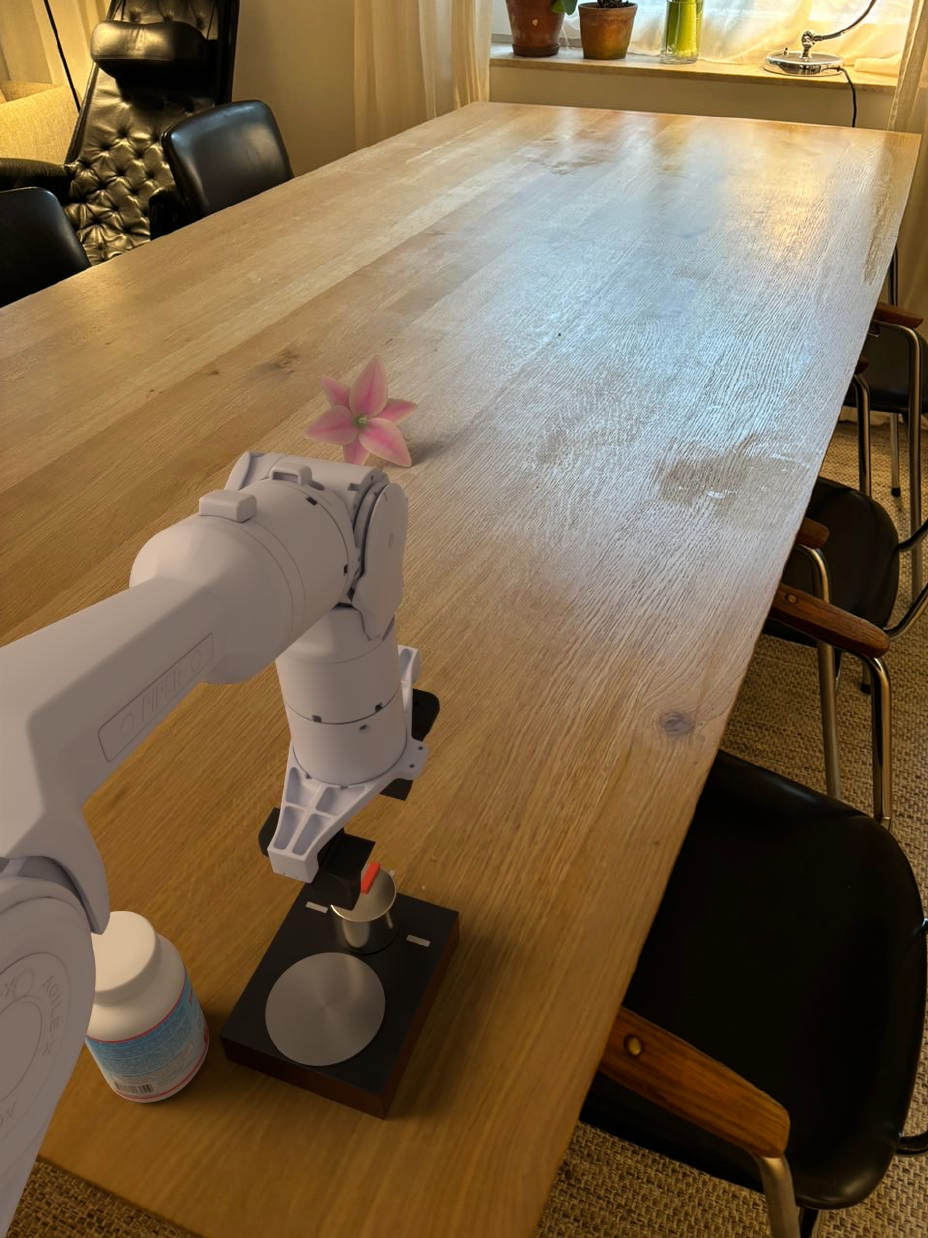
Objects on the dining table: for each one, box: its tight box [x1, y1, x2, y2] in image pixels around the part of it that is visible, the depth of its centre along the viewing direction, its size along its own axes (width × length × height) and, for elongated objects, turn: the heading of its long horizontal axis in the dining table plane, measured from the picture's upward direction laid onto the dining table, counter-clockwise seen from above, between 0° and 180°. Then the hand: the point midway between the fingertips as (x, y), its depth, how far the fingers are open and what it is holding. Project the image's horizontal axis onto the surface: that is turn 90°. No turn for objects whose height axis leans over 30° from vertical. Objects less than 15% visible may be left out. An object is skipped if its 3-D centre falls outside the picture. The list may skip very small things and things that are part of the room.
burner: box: [265, 953, 385, 1067], centre depth 57 cm, size 7×7×1 cm
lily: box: [300, 354, 419, 468], centre depth 106 cm, size 12×12×10 cm
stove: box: [217, 869, 461, 1121], centre depth 60 cm, size 13×10×3 cm
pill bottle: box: [84, 910, 210, 1104], centre depth 54 cm, size 6×6×11 cm
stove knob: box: [330, 861, 400, 954], centre depth 59 cm, size 4×4×4 cm
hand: (366, 844), depth 57 cm, fingers open, 7 cm apart
